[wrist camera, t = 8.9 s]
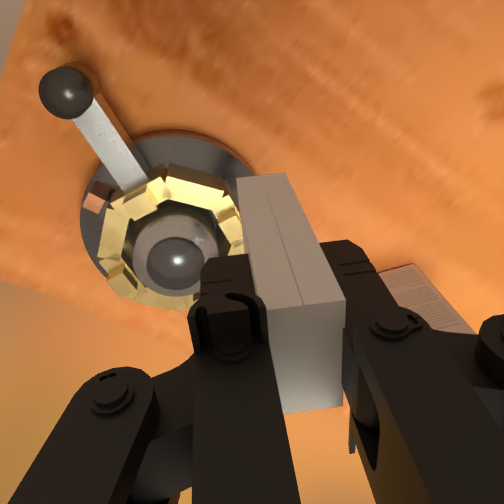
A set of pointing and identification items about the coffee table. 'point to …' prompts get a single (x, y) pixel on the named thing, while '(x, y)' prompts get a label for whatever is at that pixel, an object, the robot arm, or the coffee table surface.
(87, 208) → the housing
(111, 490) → the robot arm
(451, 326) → the skincare box
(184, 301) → the ball lever
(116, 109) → the coffee table surface
